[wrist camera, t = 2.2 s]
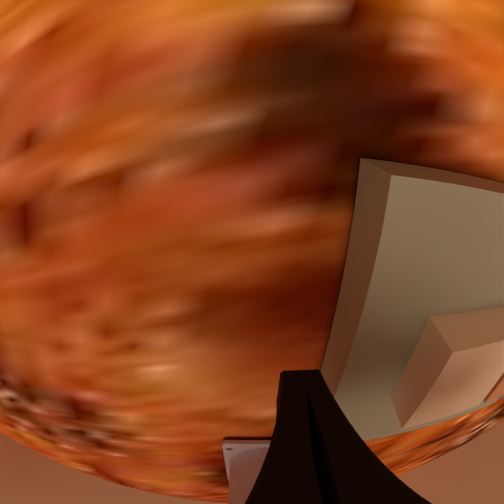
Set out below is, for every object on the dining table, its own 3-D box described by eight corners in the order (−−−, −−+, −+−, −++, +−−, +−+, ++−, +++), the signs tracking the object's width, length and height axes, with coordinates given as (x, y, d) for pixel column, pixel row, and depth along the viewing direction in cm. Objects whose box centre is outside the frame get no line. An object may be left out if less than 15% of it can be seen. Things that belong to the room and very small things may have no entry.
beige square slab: (482, 380, 17) (494, 402, 14) (307, 414, 16) (312, 447, 14) (563, 201, 10) (589, 217, 7) (360, 157, 9) (391, 174, 7)
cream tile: (464, 378, 12) (478, 405, 10) (390, 395, 12) (401, 428, 10) (506, 305, 10) (528, 332, 8) (429, 316, 10) (452, 352, 8)
